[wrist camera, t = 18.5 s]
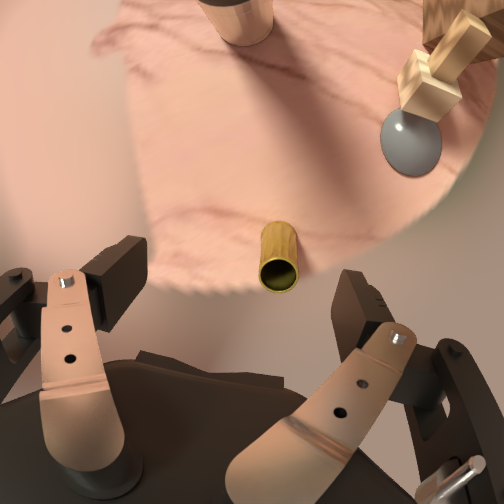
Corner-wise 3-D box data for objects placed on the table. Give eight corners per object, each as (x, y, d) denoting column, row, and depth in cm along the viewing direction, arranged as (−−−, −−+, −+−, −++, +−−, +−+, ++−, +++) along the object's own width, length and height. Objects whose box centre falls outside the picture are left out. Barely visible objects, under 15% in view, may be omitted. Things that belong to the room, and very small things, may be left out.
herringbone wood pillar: (466, 64, 35) (594, 48, 6) (422, 44, 35) (546, -6, 6) (465, 15, 30) (574, -24, 1) (422, -6, 30) (521, -74, 1)
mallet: (506, 52, 18) (488, 19, 19) (463, 26, 18) (446, -4, 19) (437, 122, 38) (431, 90, 39) (400, 110, 38) (396, 78, 39)
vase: (285, 259, 53) (286, 303, 40) (254, 243, 52) (246, 283, 39) (303, 231, 51) (311, 268, 38) (271, 214, 50) (269, 245, 37)
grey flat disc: (367, 127, 43) (368, 127, 42) (418, 95, 39) (420, 94, 39) (402, 187, 46) (403, 188, 45) (450, 154, 42) (451, 154, 42)
